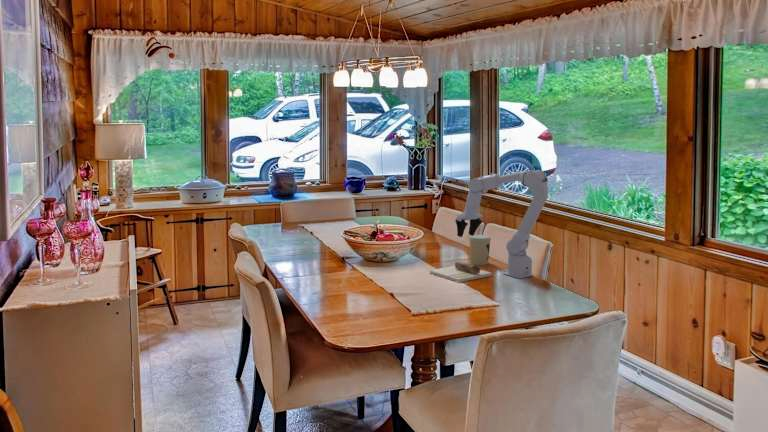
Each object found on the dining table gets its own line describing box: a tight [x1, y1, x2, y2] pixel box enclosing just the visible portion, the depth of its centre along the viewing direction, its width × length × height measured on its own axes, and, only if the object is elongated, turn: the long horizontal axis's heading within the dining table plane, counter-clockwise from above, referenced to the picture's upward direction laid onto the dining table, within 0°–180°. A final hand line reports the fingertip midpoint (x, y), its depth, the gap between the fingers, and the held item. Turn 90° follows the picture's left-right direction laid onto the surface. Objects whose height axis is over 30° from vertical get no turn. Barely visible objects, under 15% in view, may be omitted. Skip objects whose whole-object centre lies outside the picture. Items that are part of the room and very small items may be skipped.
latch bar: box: [454, 261, 481, 274], centre depth 282 cm, size 12×2×3 cm, turn 36°
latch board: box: [428, 265, 492, 283], centre depth 282 cm, size 18×18×1 cm
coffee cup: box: [468, 234, 491, 266], centre depth 301 cm, size 9×9×12 cm
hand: (465, 235), depth 291 cm, fingers open, 7 cm apart
